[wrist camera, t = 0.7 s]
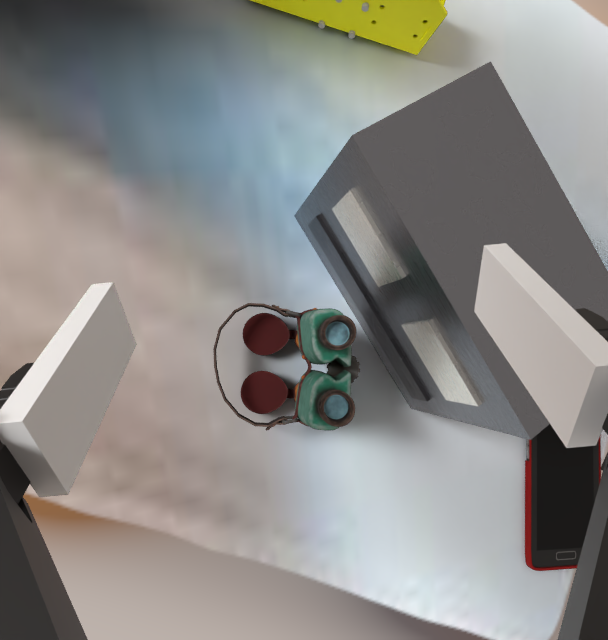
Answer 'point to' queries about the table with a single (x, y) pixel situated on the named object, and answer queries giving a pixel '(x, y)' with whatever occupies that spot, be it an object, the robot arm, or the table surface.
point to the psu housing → (448, 244)
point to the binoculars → (314, 386)
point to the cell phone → (558, 500)
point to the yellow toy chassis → (372, 18)
